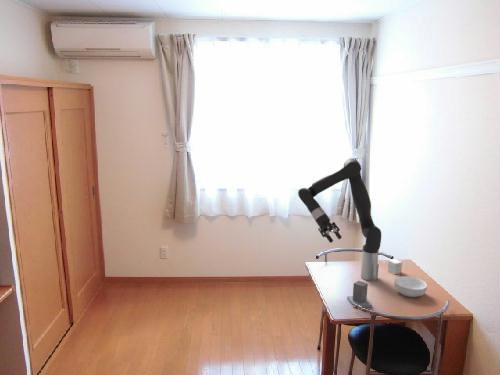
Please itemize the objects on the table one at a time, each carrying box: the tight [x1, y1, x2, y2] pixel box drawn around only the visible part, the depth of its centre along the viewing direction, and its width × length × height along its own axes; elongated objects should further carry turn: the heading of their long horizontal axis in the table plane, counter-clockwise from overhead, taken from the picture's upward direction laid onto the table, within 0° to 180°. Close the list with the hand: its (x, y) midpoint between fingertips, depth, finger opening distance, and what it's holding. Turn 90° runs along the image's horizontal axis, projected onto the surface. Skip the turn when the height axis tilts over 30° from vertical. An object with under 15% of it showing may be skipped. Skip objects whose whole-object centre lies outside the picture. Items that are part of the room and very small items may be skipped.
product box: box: [387, 258, 403, 275], centre depth 254 cm, size 6×6×7 cm
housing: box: [352, 280, 369, 303], centre depth 211 cm, size 5×5×10 cm
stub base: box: [346, 295, 373, 309], centre depth 212 cm, size 10×10×6 cm
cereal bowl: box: [394, 275, 428, 298], centre depth 223 cm, size 17×17×7 cm
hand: (336, 240), depth 227 cm, fingers open, 8 cm apart
